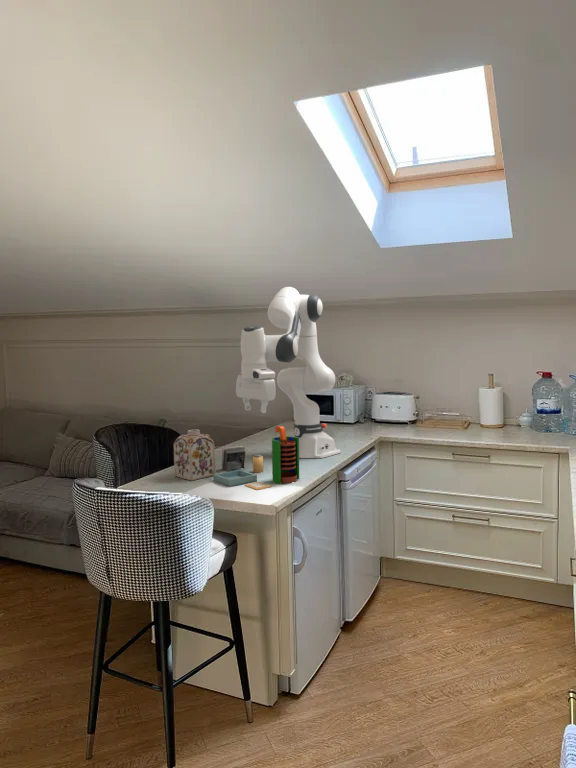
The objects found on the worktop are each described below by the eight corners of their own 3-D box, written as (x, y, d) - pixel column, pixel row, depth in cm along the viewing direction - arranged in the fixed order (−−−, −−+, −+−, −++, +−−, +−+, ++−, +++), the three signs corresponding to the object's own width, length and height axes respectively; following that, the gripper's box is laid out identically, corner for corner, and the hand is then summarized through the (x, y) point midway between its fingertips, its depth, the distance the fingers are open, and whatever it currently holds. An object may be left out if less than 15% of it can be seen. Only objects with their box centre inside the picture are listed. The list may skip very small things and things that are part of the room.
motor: (287, 485, 212) (285, 429, 211) (267, 482, 217) (265, 428, 216) (302, 479, 221) (301, 425, 219) (283, 476, 226) (281, 424, 224)
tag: (258, 482, 217) (258, 481, 217) (271, 487, 210) (271, 485, 210) (244, 485, 213) (244, 484, 213) (257, 490, 207) (257, 488, 207)
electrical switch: (243, 466, 245) (242, 444, 244) (247, 470, 241) (247, 447, 239) (221, 469, 242) (220, 447, 240) (225, 472, 237) (224, 450, 235)
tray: (240, 476, 228) (239, 469, 228) (257, 481, 219) (256, 474, 219) (213, 481, 221) (213, 474, 221) (230, 487, 212) (229, 480, 212)
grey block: (235, 473, 233) (235, 460, 233) (241, 475, 230) (240, 462, 230) (226, 475, 231) (226, 462, 230) (232, 476, 228) (231, 464, 227)
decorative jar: (216, 475, 230) (214, 429, 228) (191, 481, 222) (189, 433, 221) (198, 471, 239) (196, 426, 237) (173, 476, 231) (171, 430, 229)
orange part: (259, 470, 237) (259, 453, 237) (265, 471, 234) (264, 455, 234) (251, 471, 235) (250, 455, 235) (256, 473, 232) (256, 456, 231)
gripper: (230, 372, 215) (232, 410, 216) (263, 374, 198) (264, 415, 200) (245, 371, 219) (246, 408, 220) (278, 372, 202) (279, 413, 203)
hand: (255, 411), depth 210 cm, fingers open, 8 cm apart
